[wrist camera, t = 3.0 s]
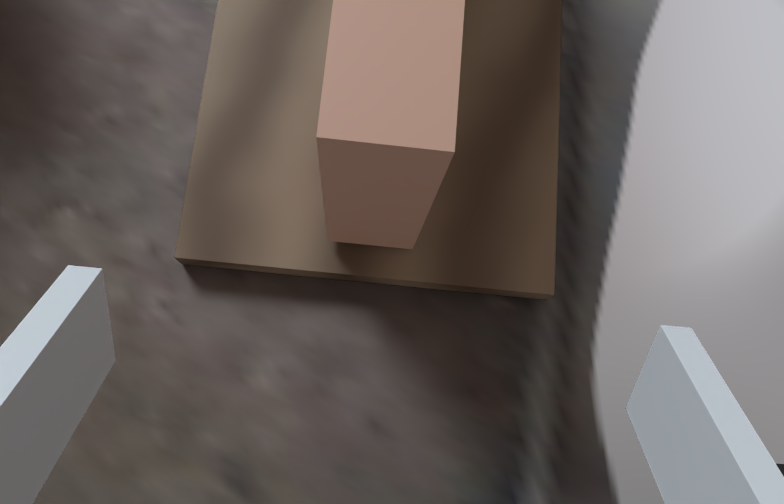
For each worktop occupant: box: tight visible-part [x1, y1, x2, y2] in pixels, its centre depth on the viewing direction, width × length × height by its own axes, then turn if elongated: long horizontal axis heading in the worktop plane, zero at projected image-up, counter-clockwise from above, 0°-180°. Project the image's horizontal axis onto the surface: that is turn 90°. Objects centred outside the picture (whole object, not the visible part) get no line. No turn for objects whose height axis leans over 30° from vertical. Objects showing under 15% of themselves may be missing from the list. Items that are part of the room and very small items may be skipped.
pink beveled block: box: [316, 0, 465, 249], centre depth 25 cm, size 4×8×12 cm, turn 175°
